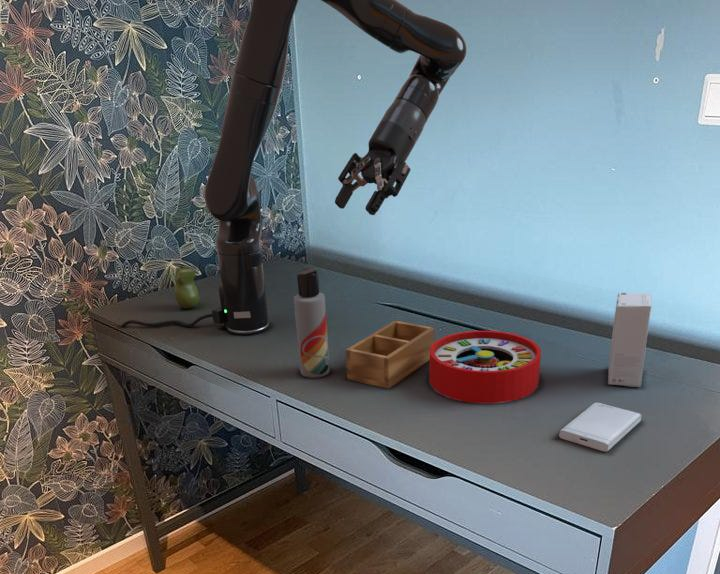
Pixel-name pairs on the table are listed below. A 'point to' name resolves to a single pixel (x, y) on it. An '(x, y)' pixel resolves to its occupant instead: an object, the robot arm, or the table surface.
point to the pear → (186, 288)
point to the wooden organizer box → (389, 354)
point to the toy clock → (484, 366)
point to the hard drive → (600, 426)
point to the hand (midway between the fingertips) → (353, 209)
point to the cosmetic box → (629, 339)
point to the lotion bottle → (311, 325)
